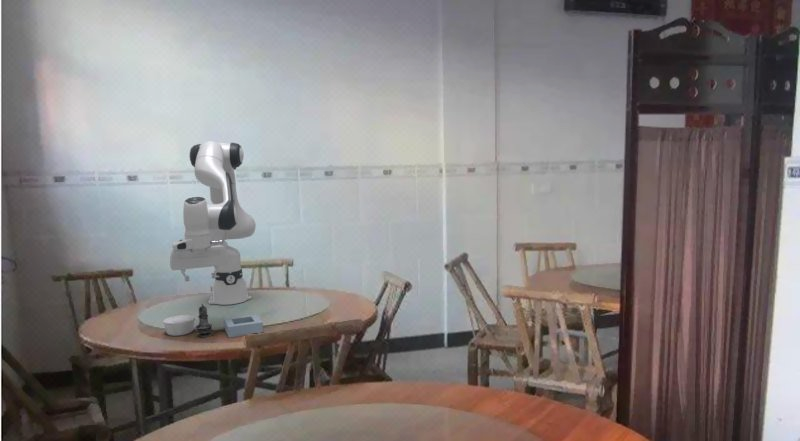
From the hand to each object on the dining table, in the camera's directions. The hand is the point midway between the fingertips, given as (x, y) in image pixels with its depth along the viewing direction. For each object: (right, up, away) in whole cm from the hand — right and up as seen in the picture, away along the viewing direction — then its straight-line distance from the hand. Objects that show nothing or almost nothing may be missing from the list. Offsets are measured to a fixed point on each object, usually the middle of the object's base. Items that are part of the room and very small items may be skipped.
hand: (200, 279), depth 228 cm
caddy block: (+14, -20, +7) cm, 25 cm away
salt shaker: (+1, -21, +3) cm, 21 cm away
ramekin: (-10, -21, +8) cm, 25 cm away
